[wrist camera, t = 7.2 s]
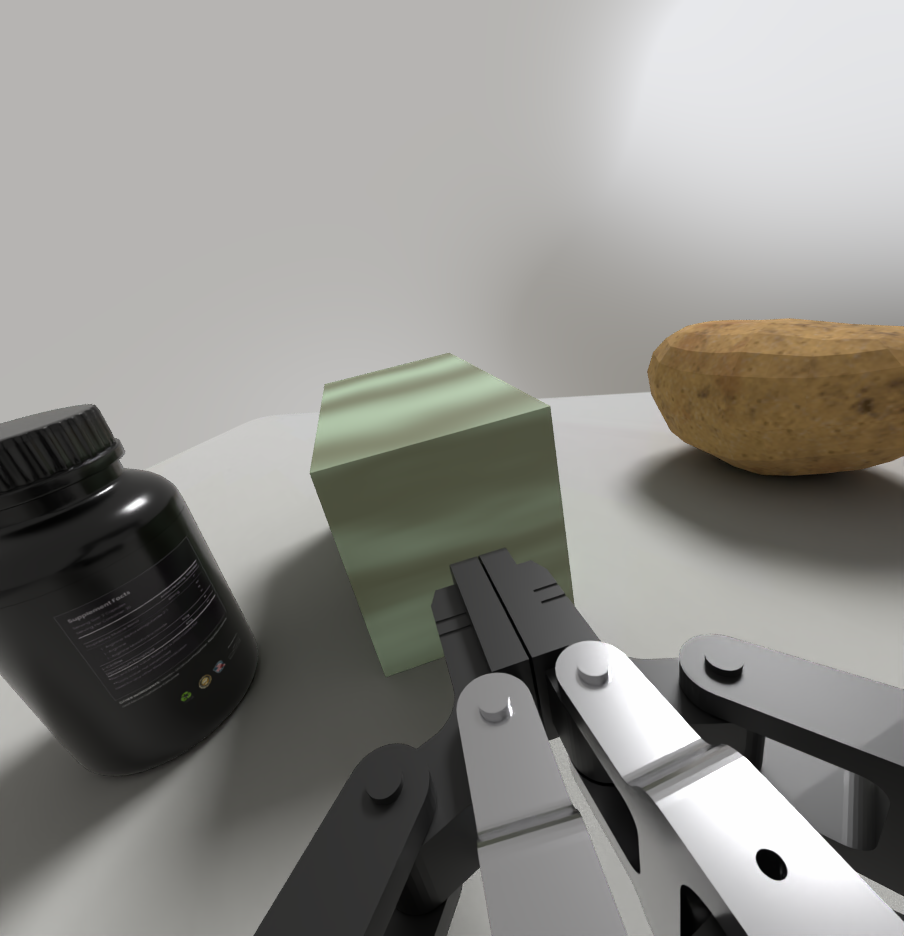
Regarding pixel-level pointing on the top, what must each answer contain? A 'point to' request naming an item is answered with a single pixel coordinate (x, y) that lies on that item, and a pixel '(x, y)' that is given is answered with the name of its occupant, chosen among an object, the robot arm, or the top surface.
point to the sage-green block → (433, 490)
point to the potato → (784, 393)
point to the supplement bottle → (111, 599)
